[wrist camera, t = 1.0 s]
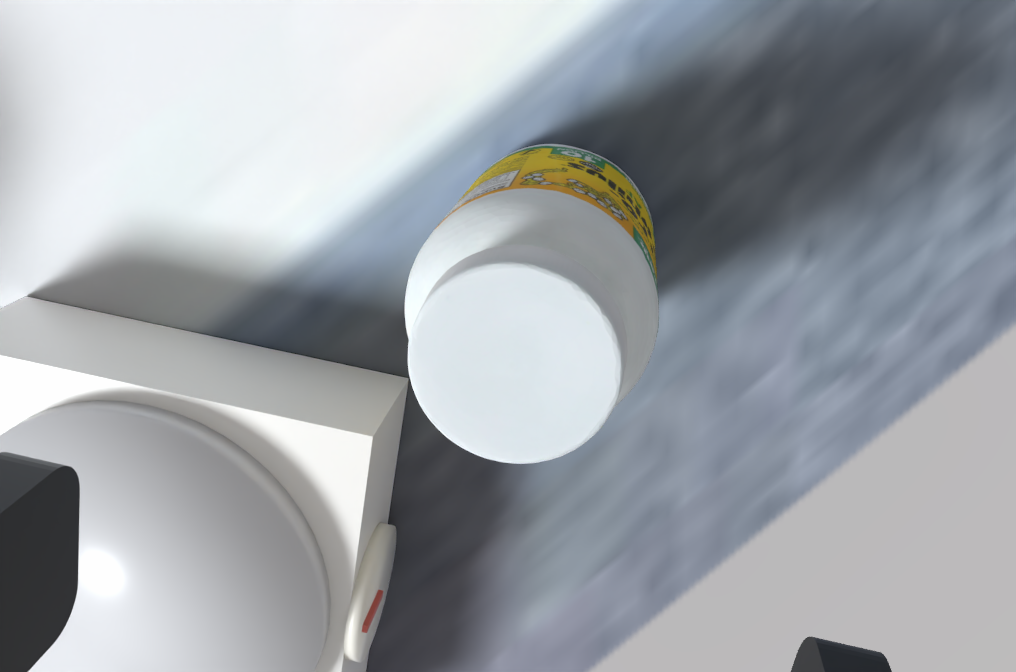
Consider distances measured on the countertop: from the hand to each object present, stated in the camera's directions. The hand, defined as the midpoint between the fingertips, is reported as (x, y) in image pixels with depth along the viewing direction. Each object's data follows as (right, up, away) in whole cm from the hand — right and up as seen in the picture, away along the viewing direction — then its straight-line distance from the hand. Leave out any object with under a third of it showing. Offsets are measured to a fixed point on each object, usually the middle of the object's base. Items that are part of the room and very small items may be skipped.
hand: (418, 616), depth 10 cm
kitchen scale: (-9, -3, +20) cm, 22 cm away
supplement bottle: (+2, +6, +16) cm, 17 cm away
